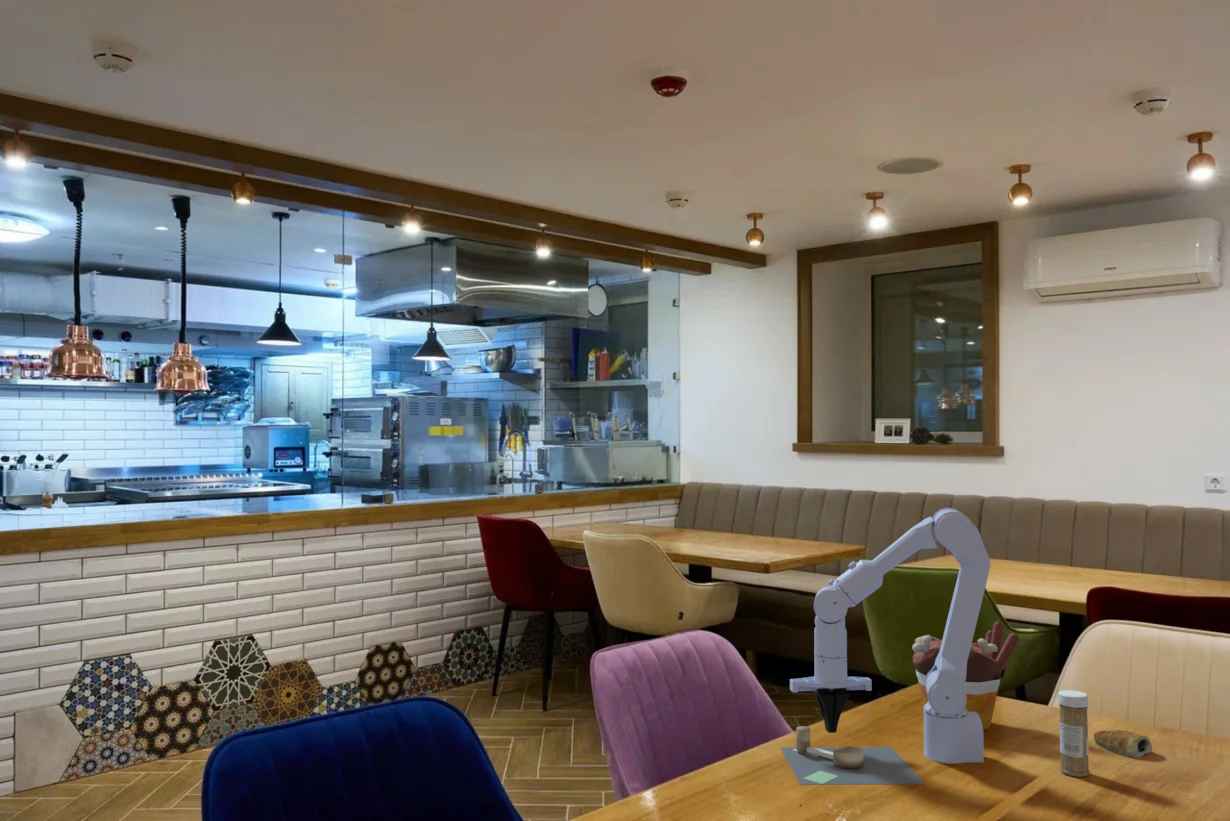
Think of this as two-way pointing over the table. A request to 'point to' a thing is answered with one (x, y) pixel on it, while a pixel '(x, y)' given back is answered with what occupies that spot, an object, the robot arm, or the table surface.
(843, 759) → the crank handle
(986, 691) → the bucket of meat
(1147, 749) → the pastry
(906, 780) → the dial board
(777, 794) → the table surface
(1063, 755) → the spice jar
